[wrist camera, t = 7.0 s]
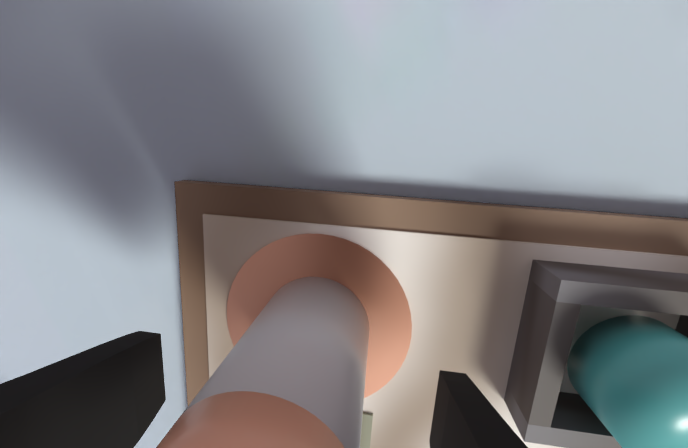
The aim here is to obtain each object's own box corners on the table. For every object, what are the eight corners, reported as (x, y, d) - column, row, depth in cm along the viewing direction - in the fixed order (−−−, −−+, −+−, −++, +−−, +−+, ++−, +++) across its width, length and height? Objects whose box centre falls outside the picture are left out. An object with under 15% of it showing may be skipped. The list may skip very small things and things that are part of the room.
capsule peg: (268, 368, 12) (101, 678, 5) (262, 274, 11) (54, 483, 4) (368, 376, 11) (343, 731, 4) (370, 279, 10) (344, 525, 4)
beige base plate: (201, 493, 14) (167, 556, 12) (185, 179, 11) (136, 187, 9) (637, 572, 12) (692, 664, 10) (766, 224, 9) (886, 247, 7)
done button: (557, 401, 9) (601, 465, 8) (580, 309, 9) (636, 353, 7) (667, 416, 9) (743, 487, 7) (700, 322, 8) (795, 372, 7)
